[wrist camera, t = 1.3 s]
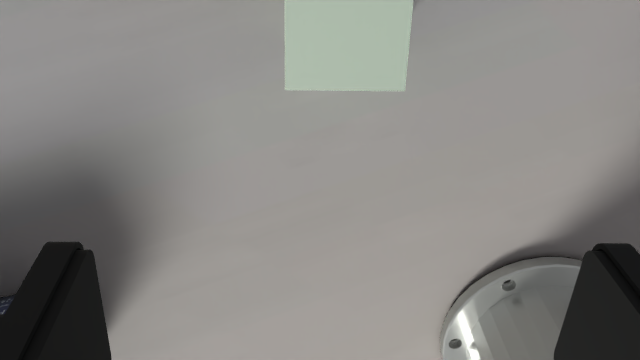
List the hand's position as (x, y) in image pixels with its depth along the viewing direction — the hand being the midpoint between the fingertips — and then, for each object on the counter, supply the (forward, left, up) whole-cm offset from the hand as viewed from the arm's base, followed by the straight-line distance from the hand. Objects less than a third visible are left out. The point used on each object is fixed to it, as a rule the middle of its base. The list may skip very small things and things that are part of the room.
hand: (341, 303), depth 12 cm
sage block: (-1, -1, -22) cm, 22 cm away
